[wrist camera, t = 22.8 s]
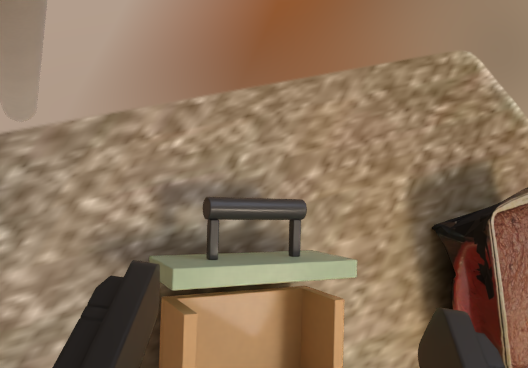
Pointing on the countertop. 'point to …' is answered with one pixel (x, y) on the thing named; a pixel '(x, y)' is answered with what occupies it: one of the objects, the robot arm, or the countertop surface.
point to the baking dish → (493, 273)
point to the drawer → (252, 299)
